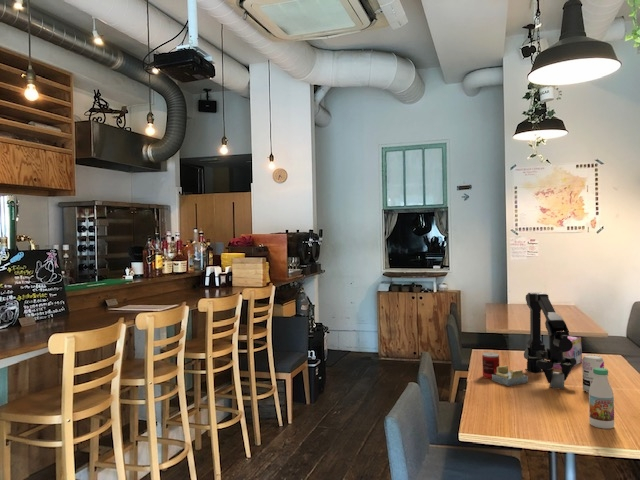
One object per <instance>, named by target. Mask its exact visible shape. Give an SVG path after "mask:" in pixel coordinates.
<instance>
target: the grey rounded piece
mask: <svg viewBox="0 0 640 480" xmlns="http://www.w3.org/2000/svg"><path fill="white" fill-rule="evenodd" d="M549 388H552V389H554V390H555V389H556V390H563V389H565V381H564V374H563V373H562V372H560V371H553V375H552V380H551V383H549Z"/></svg>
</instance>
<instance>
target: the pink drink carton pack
mask: <svg viewBox="0 0 640 480" xmlns="http://www.w3.org/2000/svg"><path fill="white" fill-rule="evenodd" d="M567 336H568V339H569V340H571V342H572V344H573V347H572V349H571V350H570V351H567V352H563V356H568V357H573V358H575V359H576V365H574V367H576V366H577V365H579V364H582V359H583V351H582V337H581V336H570V334H569V335H567ZM554 363H555V362H554ZM552 369H558V370H562V367H561V366H560V364H557V365H553V368H552Z"/></svg>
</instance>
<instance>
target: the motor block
mask: <svg viewBox="0 0 640 480" xmlns="http://www.w3.org/2000/svg"><path fill="white" fill-rule="evenodd" d="M528 380H529V379H528V375H525V373H524V371H523V370H522V369H519V370H518V369H517V370H514V369H510V371H509V365H502V366H501V365H499V367H497V372H496V374H492V379H491V381H493V382H495V383H498V384H501V385H504V386H507V387H509V386H516V385H521V384H527V383H528V384H529V381H528Z"/></svg>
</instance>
